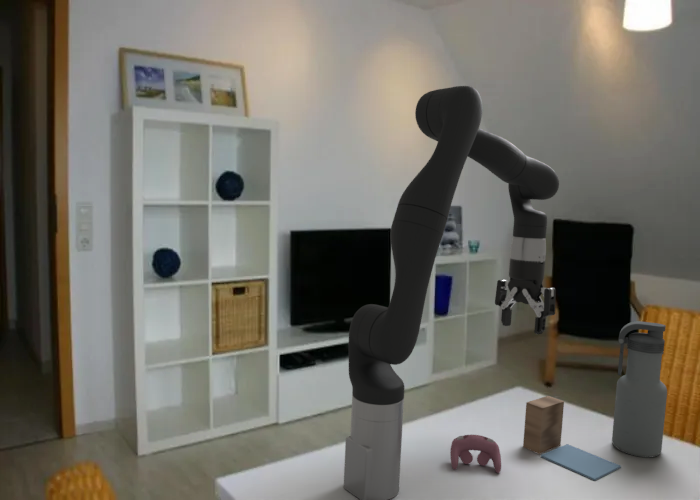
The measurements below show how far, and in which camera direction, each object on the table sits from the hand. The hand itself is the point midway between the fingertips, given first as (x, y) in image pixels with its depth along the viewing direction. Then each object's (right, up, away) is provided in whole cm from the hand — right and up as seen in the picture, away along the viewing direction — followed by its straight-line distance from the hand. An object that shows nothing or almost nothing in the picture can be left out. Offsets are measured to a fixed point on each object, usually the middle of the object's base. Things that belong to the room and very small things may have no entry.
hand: (522, 329), depth 128 cm
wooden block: (+3, -25, -3) cm, 25 cm away
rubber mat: (+9, -26, -11) cm, 29 cm away
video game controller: (-14, -26, -14) cm, 32 cm away
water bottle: (+24, -26, -2) cm, 36 cm away
